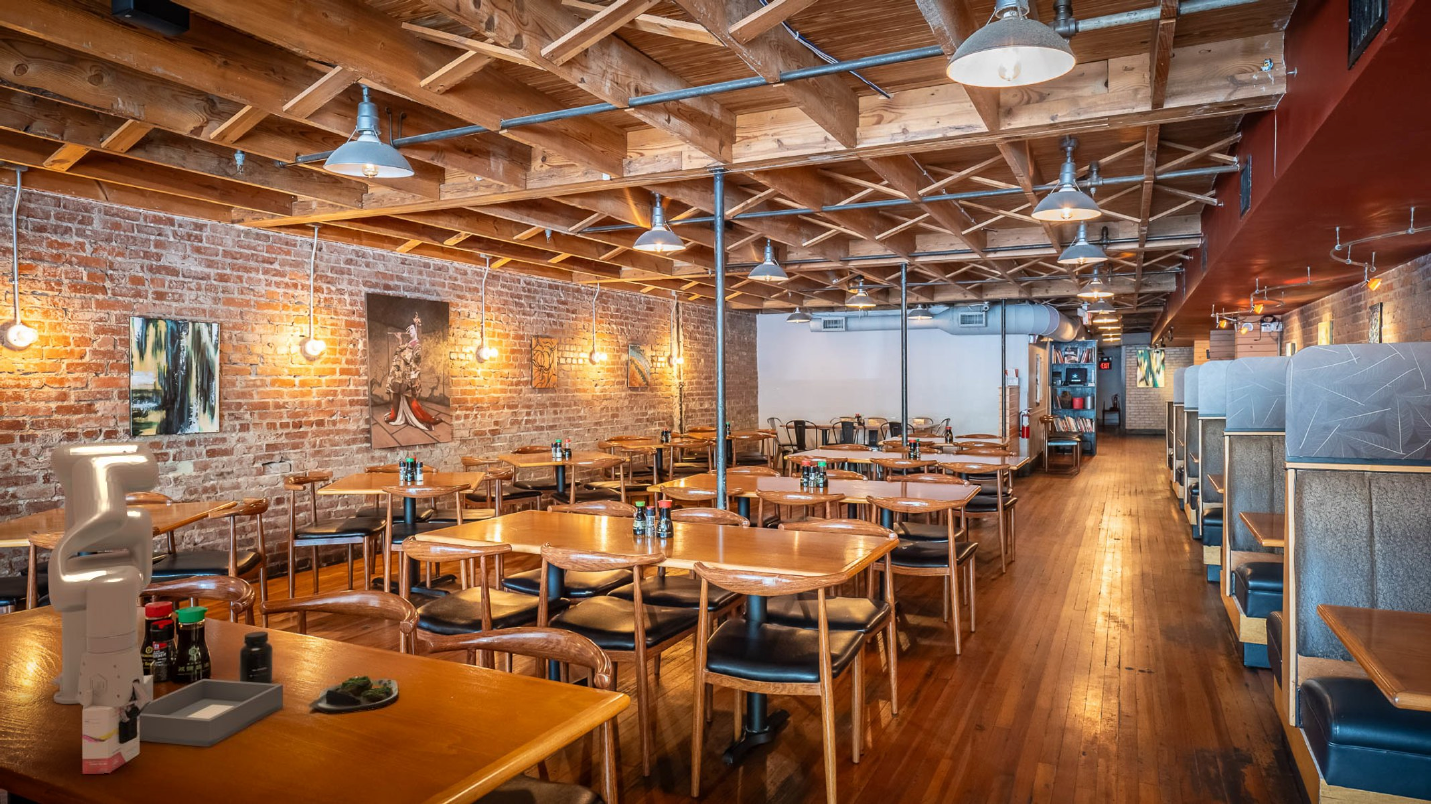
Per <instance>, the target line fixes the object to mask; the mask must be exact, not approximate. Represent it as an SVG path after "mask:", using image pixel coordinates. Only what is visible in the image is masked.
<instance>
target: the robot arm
mask: <svg viewBox="0 0 1431 804" xmlns="http://www.w3.org/2000/svg"><path fill="white" fill-rule="evenodd" d="M50 466H51V470H52V471H53V474H54V476H55V478H56V479H57V480H58V482H59V484H60V486H61V488H62V490H63V494H64V510H65V511H64V534H63V535H62V536H61V538H60V539H59V540H58V541H57V543H56V545H55V546H54V548H53V549H52V551H51V553H50V556H49V559H48V565H47V573H48V575H47V577H48V596H49V602H50V605H51V607H52V609H54V610H55V611H57V612H59V613H61V632H62V634H61V635H62V636H61V638H62V641H61V643H62V644H61V645H62V647H61V648H62V653H61V655H62V672H61V673H59V674H57V677H56V678H52V681H51V684H52V685H56V686H59V691H57V692H56V693H55V694H54V695H53V700H54V702H56V704H57V703H58V704H63V705H73V704H74V705H75V704H79V705H81V708H82V709H83V704H84V694H85V692H87V691H89V690H91V689H93V692H92V706H108V707H113V708H115V709H117V708H119V712H120V716H121V719H122V721H121V722H119V743H120V744H124V743H126V742H128V741H130V740H132V739H135V738H136V737H137V717H138V716H140V713H141V712H142V711H143V710H144V708H145V707H146V706H147V705H148V704H149V703H150V702H151V699H150V698H149V696H148V695H147V694H146V692H145V691H144V676H145V675H144V668H143V667H144V666H143V660H142V654H141V651H140V647H138V598H139V597H140V595H141V594H142V593H144V590H145V589H146V588H147V587H148V586H149V585H150V583H151V582H152V575H153V545H154V544H153V543H154V541H153V539H154V536H153V533H154V528H153V521H152V520H153V519H152V517H151V514H150V512H149V511H148V509H146V508H144V507H141V506H127V496H126V494H135V493H147V492H148V493H149V492H152V491H153V490H155V488H156V487H157V485H158V482H159V477H160V470H159V464H158V461H157V458H156V457H155V454H154V453H153V451H152V449H151V448H150V446H149V445H148V444H147V443H145V442H139V441H131V442H130V441H128V442H127V441H125V442H124V441H123V442H92V443H91V442H88V443H87V442H86V443H85V442H84V443H73V444H72V443H71V444H65V445H64V444H63V445H60V446H58V447H57V446H56V447H55V448H54V449H53V450H52V452H51V453H50ZM124 549H125V551H117V552H107V551H115V550H124ZM105 551H106V552H107V553H106V552H105ZM95 552H105V553H97V554H87V555H81V556H80V555H79V556H76V557H75V556H74V557H72V556H73V555H75V554H76V553H95ZM71 557H72V558H71ZM129 705H130V708H131V710H130V711H129V712H128V711H127V707H126V706H129Z"/></svg>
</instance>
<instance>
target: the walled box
mask: <svg viewBox="0 0 1431 804" xmlns="http://www.w3.org/2000/svg"><path fill="white" fill-rule="evenodd" d="M282 708H284V684H283V683H282V684H280V683H271V684H268V683H254V682H240V681H239V680H238V681H237V680H226V679H225V680H223V679H209V678H203V679H200V680H197V681H195V682H193V683H190V684H188V685H186V686H183V687H181V688H179V689H177V690H175V691H171V692H169V693H168V694H164V695H162V696H160V697H158V698H155V699H153V701H151V702H150V703H149V704H148V705H147V706H146V707H145V708H144V710H143V711H142V712H141V713H140V736H139V742H151V743H162V744H163V743H164V744H172V745H173V744H175V745H183V746H184V745H185V746H196V747H197V746H198V747H205V748H210V747H212V746H214V745H216V744H218V743H219V742H221V741H223V740H225V739H227V738H229V737H230V736H232V735H234V734H236V733H238V732H241V731H242V730H244V729H246V728H247V727H249V726H251V725H253V724H256V723H257V722H260V720H263V719H264V718H266V717H268V716H270V715H272V714H274V713H276V712H277V711H279V710H281V709H282Z"/></svg>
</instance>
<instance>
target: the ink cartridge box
mask: <svg viewBox="0 0 1431 804" xmlns="http://www.w3.org/2000/svg"><path fill="white" fill-rule="evenodd" d="M92 692H93V689H91V690H89V691H87V692H85V694H84V704H83V708H82V713H81V714H82V716H81V717H82V720H81V721H82V724H81V725H82V730H81V731H82V741H81V742H82V747H81V749H82V775H94V774H95V775H97V774H101V775H103V774H104V773H109V774H110V773H112V772H113V771H115V770H116V769H118V768H120V767H121V766H123V765H124V764H126V763H127V762H129V761H131V760H133V758H135V757H137V756H138V755H140V741H139V736H140V716H138V717H137V737H136V738H135V739H132V740H130V741H128V742H126V743H124V744H120V743H119V722H121V721H122V719H121V716H120V712H119V708H117V709H115V708H113V707H108V706H92ZM126 707H127V711H128V712H129V711H130V710H131V708H130V705H129V706H126Z"/></svg>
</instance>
